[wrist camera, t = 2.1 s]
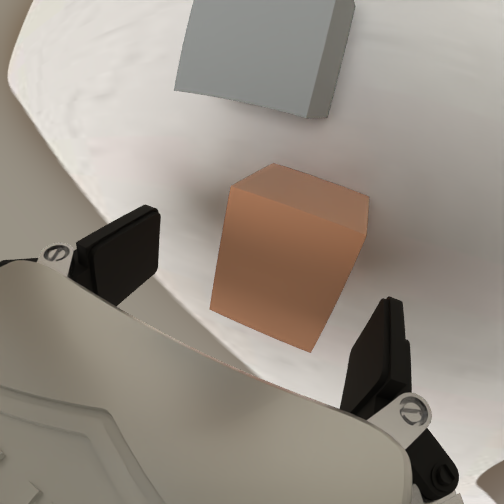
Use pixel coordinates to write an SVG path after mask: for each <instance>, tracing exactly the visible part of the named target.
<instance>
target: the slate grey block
mask: <svg viewBox="0 0 504 504" xmlns="http://www.w3.org/2000/svg"><path fill="white" fill-rule="evenodd" d="M354 10H355V4H354V0H194V2H193V5H192V9H191V13H190V17H189V21H188V25H187V29H186V34H185V38H184V42H183V47H182V52H181V56H180V61H179V66H178V71H177V77H176V82H175V88H174V91H181V92H188V93H195V94H201V95H207V96H213V97H218V98H224V99H229V100H234V101H239V102H244V103H248V104H253V105H257V106H261V107H266V108H270V109H274V110H278V111H282V112H285V113H289V114H293V115H296V116H300V117H304V118H327V117H328V113H329V109H330V106H331V102H332V98H333V94H334V91H335V87H336V83H337V79H338V75H339V71H340V68H341V64H342V60H343V56H344V52H345V48H346V43H347V39H348V35H349V31H350V27H351V23H352V18H353V14H354Z"/></svg>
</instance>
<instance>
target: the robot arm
mask: <svg viewBox="0 0 504 504" xmlns="http://www.w3.org/2000/svg"><path fill="white" fill-rule="evenodd" d="M160 218H161V216H160V214H159V213H158V210H157V209H156V208H153V207H151V206H148V205H143V206H141V207H139V208H137V209H135V210H133V211H132V212H130V213H128V214H126V215H124V216H122V217H120V218H118V219H117V220H115V221H113V222H111V223H109V224H108V225H106V226H104V227H102V228H100V229H99V230H97V231H95V232H93V233H92V234H90V235H88V236H86V237H85V238H83V239H81V240H80V241H78V242H77V243H76V246H77V249H76V250H75V251H73V248H72V247H71V246H70V245H69V244H65V243H54V244H51V245H49V246H47V247H45V248H44V249H43V250H42V251H41V253H40V255H39V258H31V259H17V260H3V261H1V262H0V504H464V503H463V500H462V497H461V494H460V493H459V494H456V492H455V488H456V487H457V485H458V481H459V473H458V469H457V467H456V466H455V464H454V463H453V461H452V460H451V459H450V457H449V456H448V455H447V453H446V452H445V451H444V449H443V448H442V447H441V445H440V444H439V443H438V441H437V440H436V439H435V437H434V436H433V435H432V434H431V432H430V431H429V430H428V428H427V427H428V426H429V424H430V423H431V419H432V413H431V409H430V407H429V405H428V403H427V402H426V400H424V399H423V398H422V397H421V396H419V395H417V394H415V393H412V384H411V357H410V343H409V341H408V340H406V339H405V325H404V313H403V303H402V301H400V300H397V299H394V298H392V297H387V299H384V298H382V299H381V301H380V302H379V304H378V306H377V308H376V309H375V311H374V313H373V314H372V316H371V318H370V320H369V321H368V323H367V325H366V326H365V328H364V330H363V331H362V333H361V335H360V336H359V338H358V339H357V341H356V343H355V344H354V346H353V348H352V350H351V352H350V357H349V363H348V369H347V374H346V380H345V385H344V390H343V395H342V400H341V405H340V409H338V408H335V407H333V406H330V405H327V404H325V403H322V402H319V401H317V400H314V399H311V398H308V397H306V396H303V395H300V394H298V393H295V392H293V391H290V390H288V389H285V388H283V387H280V386H278V385H275V384H273V383H270V382H268V381H265V380H263V379H260V378H258V377H256V376H253V375H251V374H249V373H246V372H244V371H241V370H239V369H237V368H235V367H233V366H230V365H228V364H226V363H224V362H222V361H219V360H217V359H215V358H213V357H211V356H208V355H206V354H204V353H202V352H200V351H198V350H196V349H194V348H192V347H190V346H188V345H186V344H184V343H182V342H180V341H178V340H176V339H174V338H172V337H170V336H168V335H166V334H165V333H163V332H161V331H159V330H157V329H155V328H153V327H151V326H149V325H148V324H146V323H144V322H142V321H140V320H139V319H137V318H135V317H133V316H132V315H129V314H128V313H126V312H125V311H123V310H121V309H119V308H117V307H116V306H117V305H118V304H120V303H121V302H122V301H123V300H124V299H125V298H127V297H128V296H129V295H130V294H131V293H132V292H134V291H135V290H136V289H137V288H138V287H139V286H140V285H142V284H143V283H144V282H145V281H146V280H147V279H149V278H150V277H151V276H152V275H154V274H155V272H156V271H157V268H158V255H159V234H160Z"/></svg>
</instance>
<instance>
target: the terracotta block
mask: <svg viewBox="0 0 504 504" xmlns="http://www.w3.org/2000/svg"><path fill="white" fill-rule="evenodd" d="M368 209H369V196H366V195H364V194H361V193H358V192H356V191H353V190H351V189H348V188H345V187H343V186H340V185H337V184H334V183H332V182H329V181H326V180H323V179H320V178H317V177H315V176H312V175H309V174H306V173H303V172H300V171H297V170H294V169H291V168H288V167H285V166H281V165H278V164H275V163H272V164H271V165H269V166H267V167H265V168H263V169H261V170H259V171H257V172H255V173H254V174H252V175H250V176H248V177H246V178H244V179H243V180H241V181H239V182H237V183H235V184H233V185H232V186H231V187H230V193H229V198H228V203H227V209H226V214H225V220H224V225H223V231H222V237H221V242H220V248H219V254H218V260H217V266H216V272H215V278H214V284H213V290H212V296H211V303H210V310H212V311H214V312H216V313H219V314H221V315H223V316H225V317H227V318H229V319H232V320H234V321H236V322H238V323H241V324H243V325H245V326H247V327H250V328H252V329H254V330H256V331H259V332H261V333H263V334H266V335H268V336H270V337H273V338H275V339H278V340H280V341H282V342H285V343H287V344H290V345H292V346H295V347H297V348H300V349H302V350H305V351H307V352H310V353H311V351H312V349H313V348H314V346H315V344H316V342H317V340H318V338H319V336H320V334H321V332H322V330H323V329H324V327H325V325H326V323H327V321H328V319H329V317H330V315H331V313H332V311H333V309H334V307H335V304H336V302H337V300H338V298H339V296H340V294H341V292H342V290H343V288H344V286H345V283H346V281H347V279H348V277H349V275H350V273H351V270H352V268H353V266H354V264H355V261H356V259H357V257H358V254H359V252H360V250H361V247H362V245H363V243H364V240H365V238H366V236H367V224H368Z"/></svg>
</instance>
